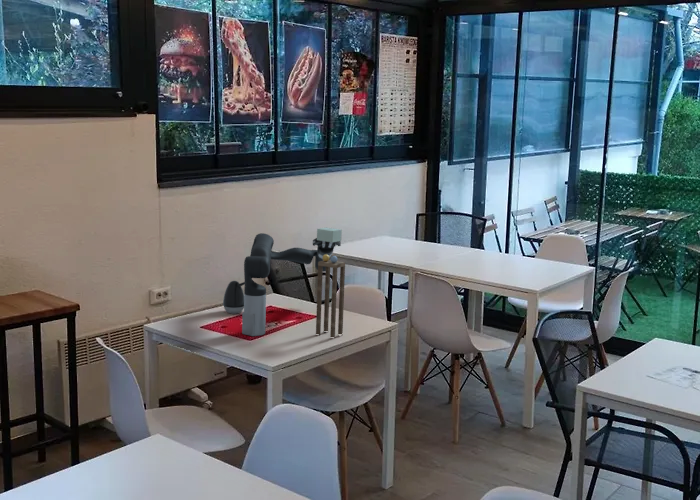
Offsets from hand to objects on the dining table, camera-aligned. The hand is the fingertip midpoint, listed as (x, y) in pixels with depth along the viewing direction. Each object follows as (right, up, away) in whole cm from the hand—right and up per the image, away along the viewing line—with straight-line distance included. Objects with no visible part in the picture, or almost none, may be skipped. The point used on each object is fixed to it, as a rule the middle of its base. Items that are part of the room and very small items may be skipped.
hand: (328, 235), depth 354 cm
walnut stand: (+1, -43, -16) cm, 46 cm away
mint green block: (0, -1, 0) cm, 1 cm away
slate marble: (+4, -12, -23) cm, 26 cm away
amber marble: (0, -11, -21) cm, 23 cm away
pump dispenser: (-45, -36, +16) cm, 59 cm away
